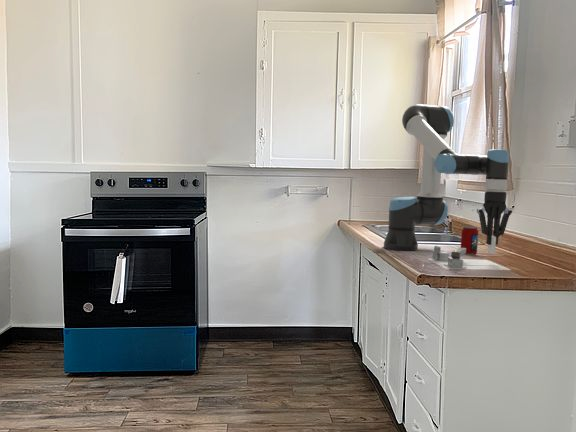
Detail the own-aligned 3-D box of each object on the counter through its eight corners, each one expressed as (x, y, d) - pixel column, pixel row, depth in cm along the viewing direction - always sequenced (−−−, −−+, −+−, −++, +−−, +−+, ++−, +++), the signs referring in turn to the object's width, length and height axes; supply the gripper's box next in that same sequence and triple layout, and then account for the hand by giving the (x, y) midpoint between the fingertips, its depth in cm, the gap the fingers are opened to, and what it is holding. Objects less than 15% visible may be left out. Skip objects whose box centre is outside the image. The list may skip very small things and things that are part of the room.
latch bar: (459, 258, 180) (459, 252, 179) (450, 257, 181) (450, 251, 181) (467, 252, 194) (467, 246, 193) (458, 252, 195) (459, 245, 195)
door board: (426, 261, 198) (427, 258, 198) (486, 262, 199) (486, 259, 199) (445, 271, 178) (445, 268, 178) (511, 272, 179) (511, 269, 179)
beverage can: (477, 256, 213) (478, 228, 211) (460, 255, 215) (462, 227, 214) (476, 253, 219) (478, 226, 218) (460, 252, 221) (461, 225, 220)
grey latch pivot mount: (443, 264, 185) (444, 256, 185) (459, 265, 185) (460, 257, 185) (449, 268, 179) (450, 259, 179) (466, 268, 179) (466, 260, 179)
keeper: (432, 258, 197) (433, 245, 197) (445, 259, 197) (446, 246, 197) (435, 260, 194) (436, 247, 193) (448, 260, 194) (449, 247, 193)
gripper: (507, 191, 192) (503, 252, 195) (474, 190, 192) (470, 251, 194) (517, 192, 185) (513, 255, 187) (483, 191, 184) (478, 254, 186)
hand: (491, 253), depth 190 cm, fingers closed
